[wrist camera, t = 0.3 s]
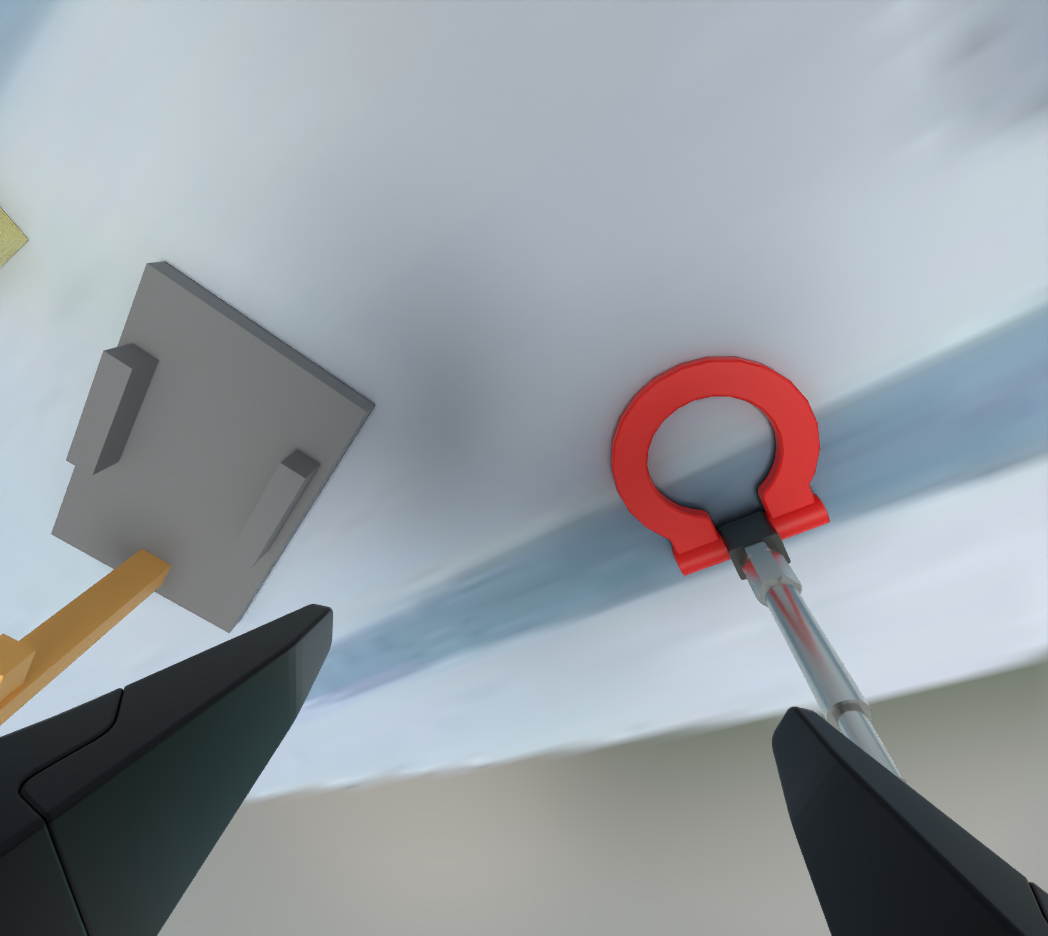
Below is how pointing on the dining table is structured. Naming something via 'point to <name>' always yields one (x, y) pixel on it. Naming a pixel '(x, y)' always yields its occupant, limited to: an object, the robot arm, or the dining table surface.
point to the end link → (9, 238)
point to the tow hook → (749, 518)
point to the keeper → (185, 470)
